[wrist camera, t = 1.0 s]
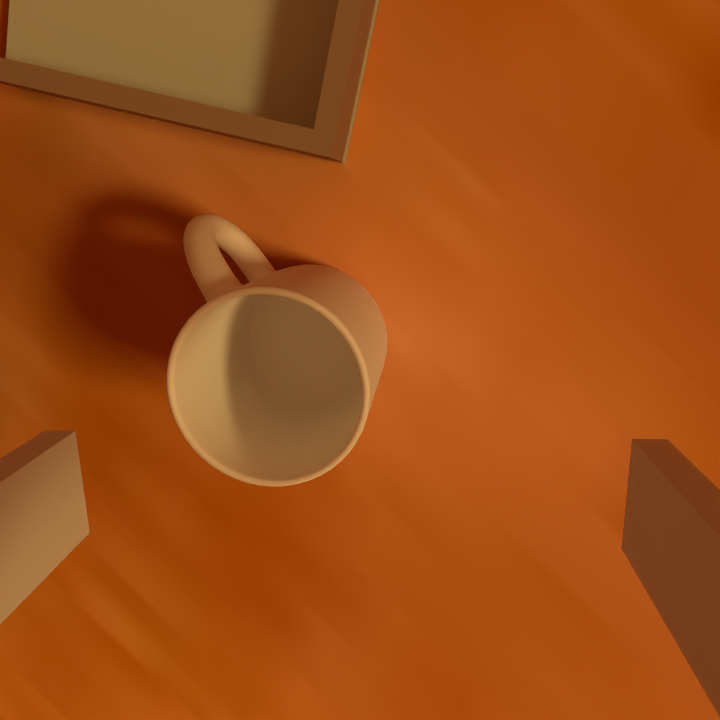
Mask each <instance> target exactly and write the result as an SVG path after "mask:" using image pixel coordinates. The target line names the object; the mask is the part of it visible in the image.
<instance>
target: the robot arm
mask: <svg viewBox="0 0 720 720" xmlns="http://www.w3.org/2000/svg"><path fill="white" fill-rule="evenodd" d="M88 534H89V526H88V519H87V512H86V504H85V497H84V490H83V483H82V476H81V469H80V462H79V454H78V447H77V440H76V433H75V431H44V432H42V433H41V434H39V435H38V436H36V437H34V438H33V439H31V440H30V441H28V442H26V443H25V444H23V445H22V446H20V447H18V448H17V449H15V450H14V451H12V452H10V453H9V454H7V455H6V456H4V457H3V458H1V459H0V624H1V623H2V622H3V621H4V620H5V619H6V618H7V617H8V616H9V615H10V614H11V613H12V612H13V611H14V610H15V609H16V608H17V606H18V605H19V604H20V603H21V602H22V601H23V600H24V599H25V598H26V597H27V596H28V595H29V594H30V593H31V592H32V591H33V590H34V589H35V588H36V587H37V586H38V585H39V584H40V583H41V582H42V581H43V580H44V579H45V578H46V577H47V576H48V575H49V574H50V573H51V572H52V571H53V570H54V569H55V568H56V567H57V566H58V564H59V563H60V562H61V561H62V560H63V559H64V558H65V557H66V556H67V555H68V554H69V553H70V552H71V551H72V550H73V549H74V548H75V547H76V546H77V545H78V544H79V543H80V542H81V541H82V540H83V539H84V538H85V537H86V536H87V535H88ZM622 550H623V552H624V553H625V555H626V557H627V558H628V560H629V562H630V564H631V565H632V567H633V569H634V570H635V572H636V574H637V576H638V577H639V579H640V581H641V582H642V584H643V586H644V588H645V589H646V591H647V593H648V595H649V596H650V598H651V600H652V601H653V603H654V605H655V607H656V608H657V610H658V612H659V613H660V615H661V617H662V619H663V620H664V622H665V624H666V625H667V627H668V629H669V631H670V632H671V634H672V636H673V638H674V639H675V641H676V643H677V644H678V646H679V648H680V650H681V651H682V653H683V655H684V656H685V658H686V660H687V662H688V663H689V665H690V667H691V668H692V670H693V672H694V674H695V675H696V677H697V679H698V680H699V682H700V684H701V686H702V687H703V689H704V691H705V693H706V694H707V696H708V698H709V699H710V701H711V703H712V705H713V706H714V708H715V710H716V711H717V713H718V715H719V717H720V490H719V489H718V488H717V487H716V486H715V485H714V484H713V483H712V482H711V481H710V480H709V479H708V478H707V477H706V476H705V475H703V474H702V473H701V472H700V471H699V470H698V469H697V468H696V467H695V466H694V465H693V464H692V463H691V462H690V461H689V460H688V459H687V458H686V457H685V456H684V455H683V454H682V453H681V452H680V451H679V450H678V449H677V448H676V447H675V446H674V445H673V444H672V443H671V442H669V441H668V440H664V439H632V445H631V456H630V466H629V477H628V488H627V498H626V509H625V519H624V530H623V540H622Z"/></svg>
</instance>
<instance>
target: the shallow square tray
mask: <svg viewBox="0 0 720 720" xmlns="http://www.w3.org/2000/svg"><path fill="white" fill-rule="evenodd" d="M378 3H379V0H9V15H8V30H7V45H6V59H5V58H1V57H0V83H3V84H6V85H10V86H14V87H18V88H22V89H26V90H30V91H35V92H39V93H43V94H48V95H52V96H56V97H61V98H65V99H69V100H74V101H78V102H82V103H86V104H91V105H95V106H99V107H104V108H108V109H112V110H117V111H121V112H125V113H129V114H134V115H138V116H142V117H147V118H151V119H155V120H160V121H164V122H168V123H173V124H177V125H181V126H185V127H190V128H194V129H198V130H203V131H207V132H211V133H216V134H220V135H224V136H229V137H233V138H237V139H241V140H246V141H250V142H254V143H259V144H263V145H267V146H272V147H276V148H280V149H284V150H289V151H293V152H297V153H302V154H306V155H310V156H315V157H319V158H323V159H328V160H332V161H336V162H340V163H345V161H346V156H347V152H348V147H349V142H350V137H351V132H352V128H353V123H354V118H355V113H356V109H357V104H358V99H359V94H360V89H361V85H362V80H363V75H364V70H365V65H366V61H367V56H368V51H369V46H370V42H371V37H372V32H373V27H374V22H375V18H376V13H377V8H378Z"/></svg>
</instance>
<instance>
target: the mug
mask: <svg viewBox="0 0 720 720" xmlns="http://www.w3.org/2000/svg"><path fill="white" fill-rule="evenodd" d="M183 245H184V251H185V255H186V259H187V263H188V265H189V268H190V270H191V273H192V275H193V277H194V279H195V281H196V283H197V285H198V287H199V289H200V291H201V292H202V294H203V296H204V298H205V299H206V301H207V303H206V304H204V305H203V306H202V307H200V308H199V309H198V310H197V311H196V312H195V313H194V314H193V315H192V316H191V317H190V318H189V319H188V320H187V322H186V323H185V324H184V325H183V327H182V328H181V330H180V332H179V333H178V335H177V337H176V339H175V341H174V344H173V346H172V349H171V352H170V356H169V361H168V366H167V377H166V378H167V393H168V399H169V404H170V407H171V411H172V414H173V417H174V419H175V421H176V423H177V426H178V428H179V429H180V431H181V433H182V434H183V436H184V438H185V439H186V440H187V442H188V443H189V444H190V446H191V447H192V448H193V449H194V450H195V451H196V452H197V453H198V454H199V455H200V456H201V457H202V458H203V459H204V460H205V461H207V462H208V463H209V464H210V465H211V466H213V467H214V468H216V469H218V470H219V471H221V472H222V473H224V474H226V475H228V476H231V477H233V478H235V479H238V480H241V481H244V482H247V483H251V484H256V485H262V486H288V485H294V484H299V483H302V482H306V481H309V480H312V479H314V478H316V477H318V476H321V475H322V474H324V473H326V472H327V471H329V470H330V469H332V468H333V467H334V466H336V465H337V464H338V463H339V462H341V461H342V460H343V459H344V458H345V456H346V455H347V454H348V453H349V452H350V451H351V449H352V448H353V447H354V445H355V444H356V442H357V441H358V439H359V437H360V435H361V433H362V431H363V428H364V425H365V422H366V419H367V416H368V413H369V410H370V407H371V404H372V401H373V397H374V394H375V391H376V388H377V385H378V382H379V379H380V375H381V372H382V369H383V366H384V362H385V357H386V351H387V335H386V328H385V323H384V319H383V317H382V314H381V311H380V309H379V307H378V305H377V303H376V302H375V300H374V299H373V297H372V296H371V294H370V293H369V292H368V291H367V290H366V289H365V288H364V287H363V286H362V285H361V284H360V283H359V282H358V281H356V280H355V279H354V278H352V277H350V276H349V275H347V274H345V273H343V272H341V271H339V270H337V269H334V268H331V267H327V266H322V265H313V264H306V265H297V266H292V267H288V268H283V269H281V270H278V271H276V270H275V269H274V268H273V266H272V265H271V264H270V262H269V261H268V259H267V258H266V257H265V255H264V254H263V253H262V252H261V250H260V249H259V248H258V247H257V245H256V244H255V243H254V242H253V241H252V240H251V239H250V238H249V237H248V236H247V235H246V234H245V233H244V232H243V231H242V230H241V229H240V228H238V227H237V226H236V225H234V224H233V223H232V222H230V221H228V220H226V219H225V218H222V217H220V216H217V215H215V214H201V215H198V216H196V217H194V218H193V219H191V221H190V222H189V223H188V224H187V226H186V228H185V231H184V236H183ZM218 247H220V248H221V249H222V250H223V251H225V252H226V253H227V254H228V255H229V256H230V257H231V258H232V259H233V260H234V262H235V263H236V264H237V265H238V267H239V268H240V269H241V271H242V272H243V274H244V275H245V277H246V278H247V280H248V281H249V283H247V284H245V285H242V284H240V282H239V281H238V279H237V278H236V277H235V275H234V274H233V272H232V271H231V269H230V268H229V266H228V264H227V263H226V261H225V259H224V258H223V256H222V254H221V252H220V250H219V248H218Z"/></svg>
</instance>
